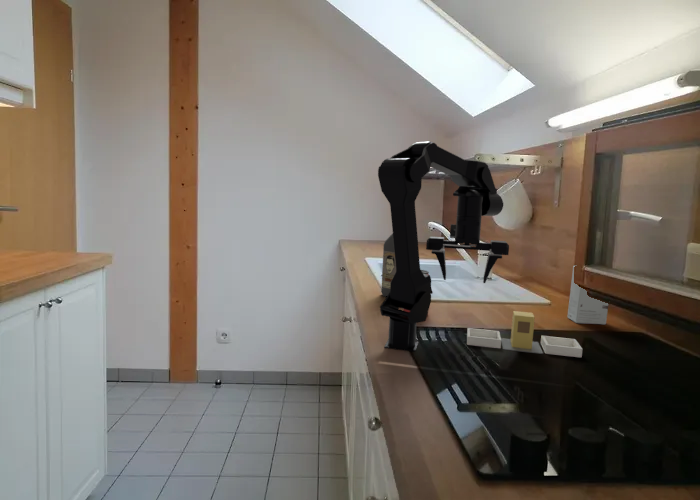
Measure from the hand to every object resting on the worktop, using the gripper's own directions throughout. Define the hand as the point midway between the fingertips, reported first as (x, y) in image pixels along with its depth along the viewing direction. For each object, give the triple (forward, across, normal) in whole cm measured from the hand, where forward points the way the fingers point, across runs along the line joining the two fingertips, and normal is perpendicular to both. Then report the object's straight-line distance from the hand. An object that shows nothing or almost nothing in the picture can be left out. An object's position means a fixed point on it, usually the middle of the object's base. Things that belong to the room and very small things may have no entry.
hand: (464, 281), depth 116 cm
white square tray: (+12, -21, +9) cm, 26 cm away
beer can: (+12, +12, -10) cm, 20 cm away
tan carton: (+12, -13, +9) cm, 19 cm away
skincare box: (+12, -33, -22) cm, 41 cm away
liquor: (+12, +20, -32) cm, 40 cm away
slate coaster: (+12, -13, +9) cm, 20 cm away
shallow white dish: (+12, -5, +9) cm, 16 cm away
